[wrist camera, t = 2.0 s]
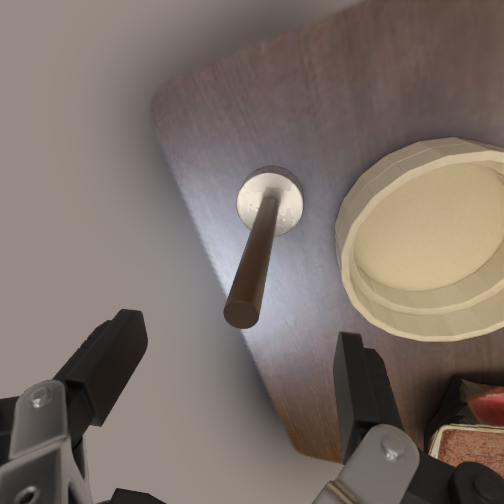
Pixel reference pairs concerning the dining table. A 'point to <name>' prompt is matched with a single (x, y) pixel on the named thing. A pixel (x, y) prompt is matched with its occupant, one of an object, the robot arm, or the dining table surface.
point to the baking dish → (469, 426)
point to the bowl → (427, 241)
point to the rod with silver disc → (261, 237)
